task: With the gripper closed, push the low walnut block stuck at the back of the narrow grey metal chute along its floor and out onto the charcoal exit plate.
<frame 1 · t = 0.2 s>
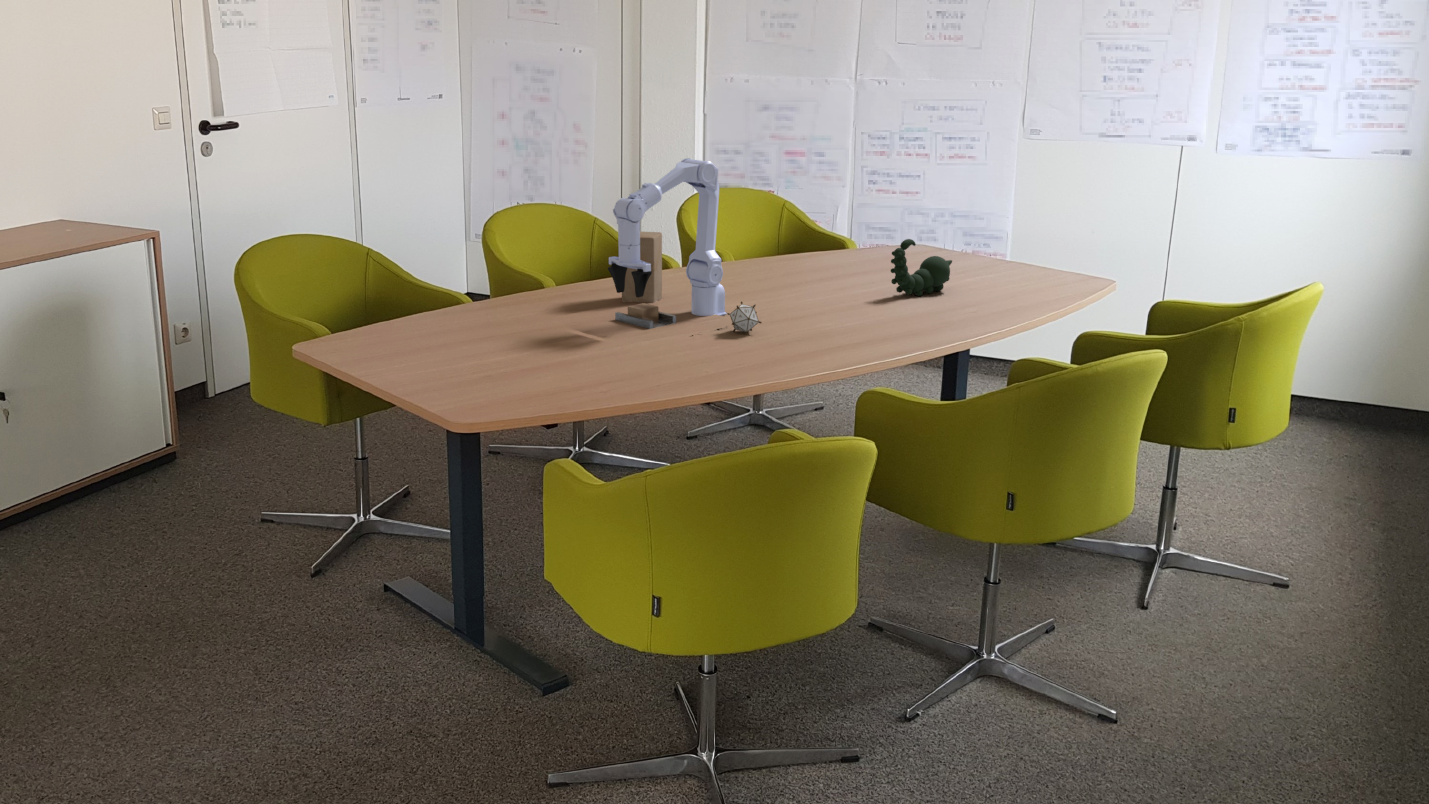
hand: (629, 294, 322), 10 cm above the table, fingers open, 7 cm apart
chute: (655, 326, 329), on the table
walnut block: (643, 320, 332), point 1 cm above the table, touching chute
game die: (744, 333, 324), on the table
wooden block: (642, 301, 359), on the table
toy figurine: (921, 294, 373), on the table
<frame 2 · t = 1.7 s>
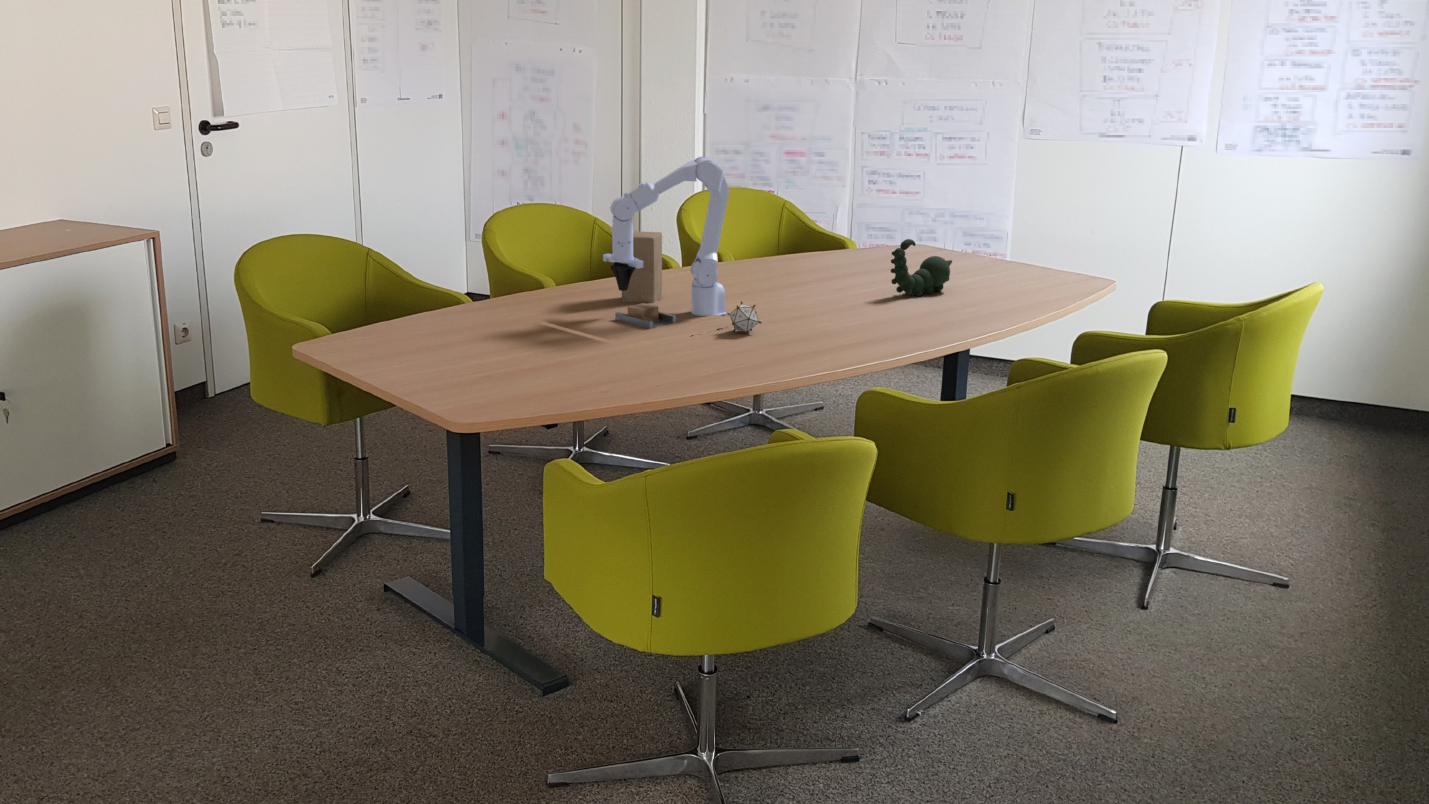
hand: (623, 290, 335), 8 cm above the table, fingers closed
nothing on the table moved.
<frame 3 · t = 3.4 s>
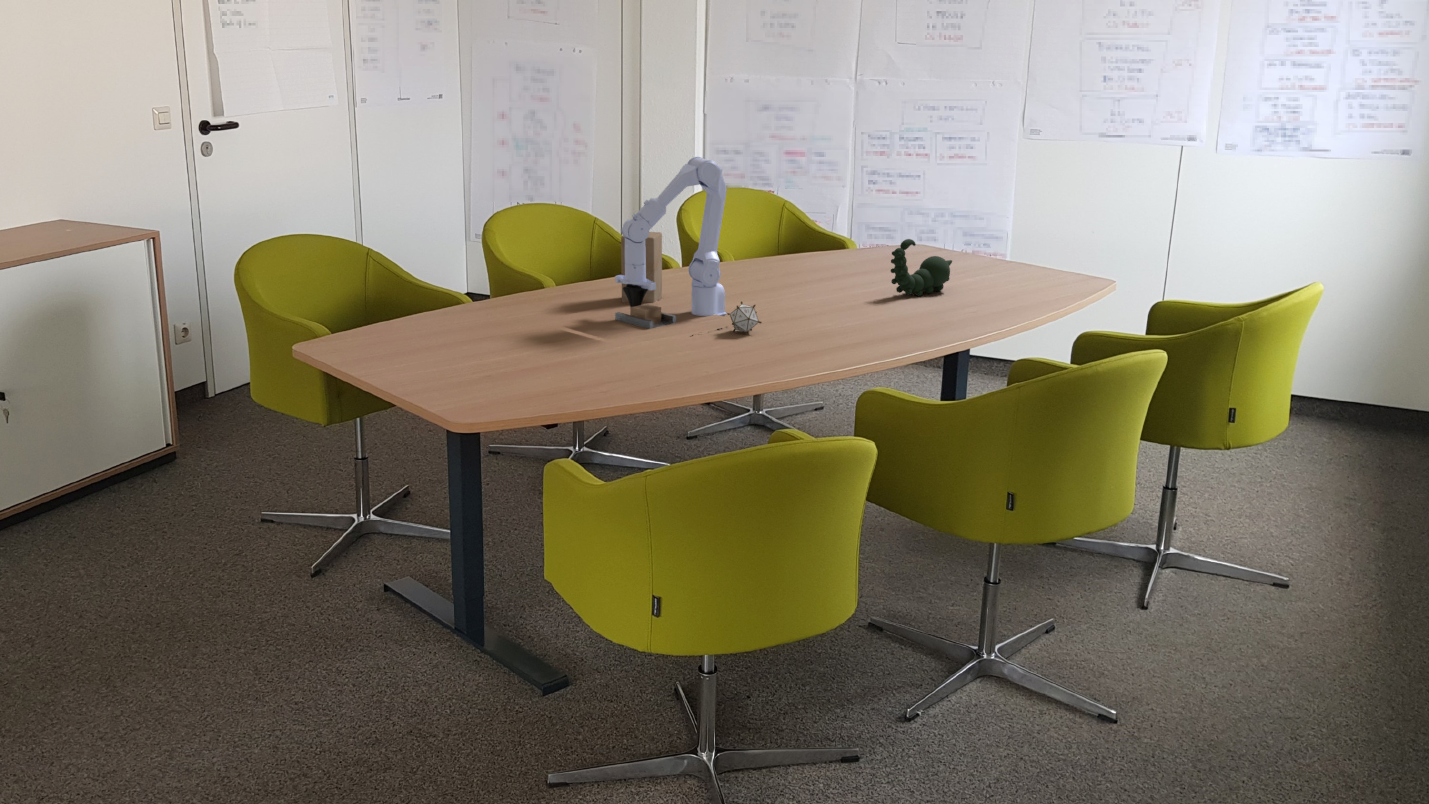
hand: (635, 311, 334), 3 cm above the table, fingers closed
walnut block: (645, 321, 331), point 1 cm above the table, touching gripper
everything else where it was.
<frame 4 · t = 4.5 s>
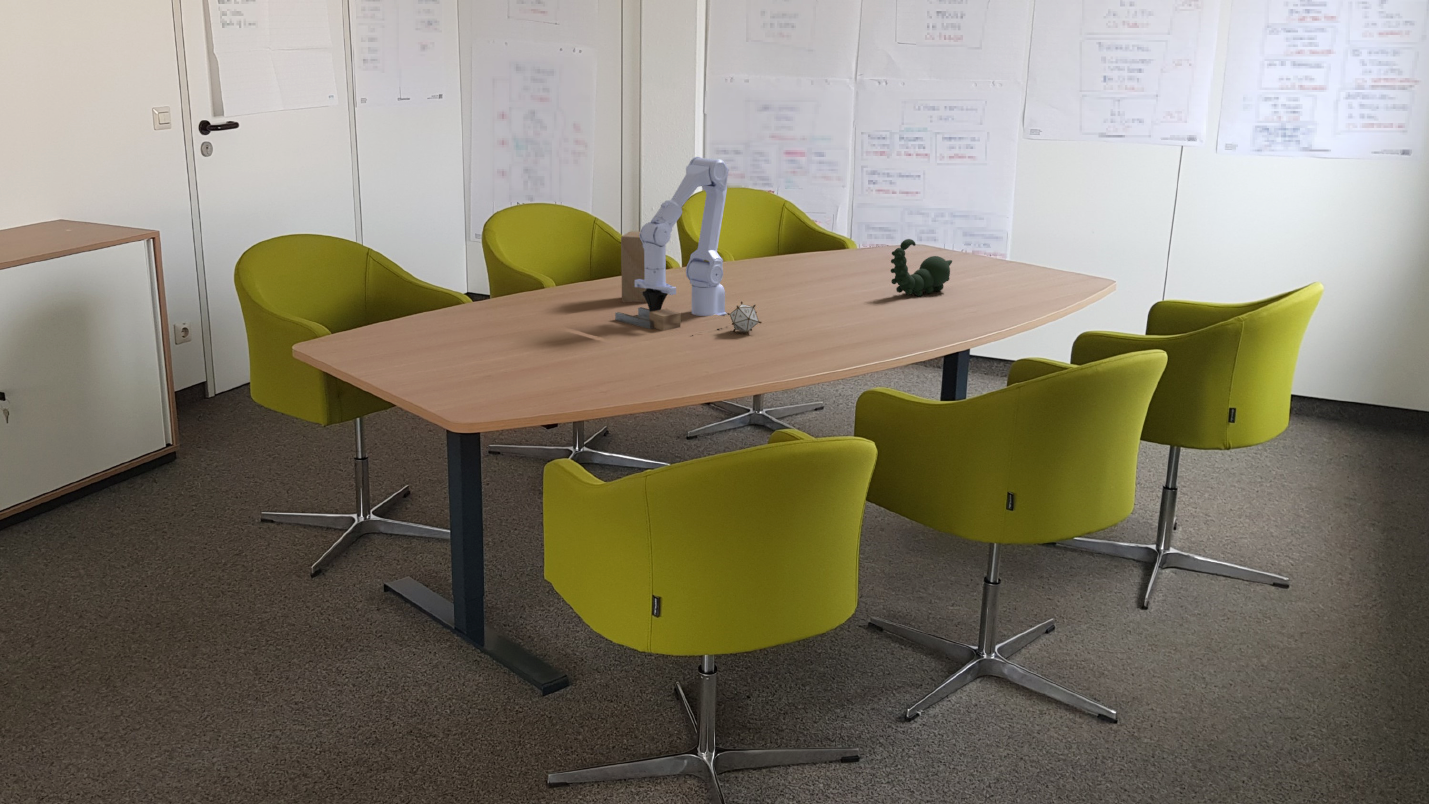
hand: (655, 316, 328), 3 cm above the table, fingers closed
walnut block: (664, 326, 326), point 1 cm above the table, touching gripper
everything else where it was.
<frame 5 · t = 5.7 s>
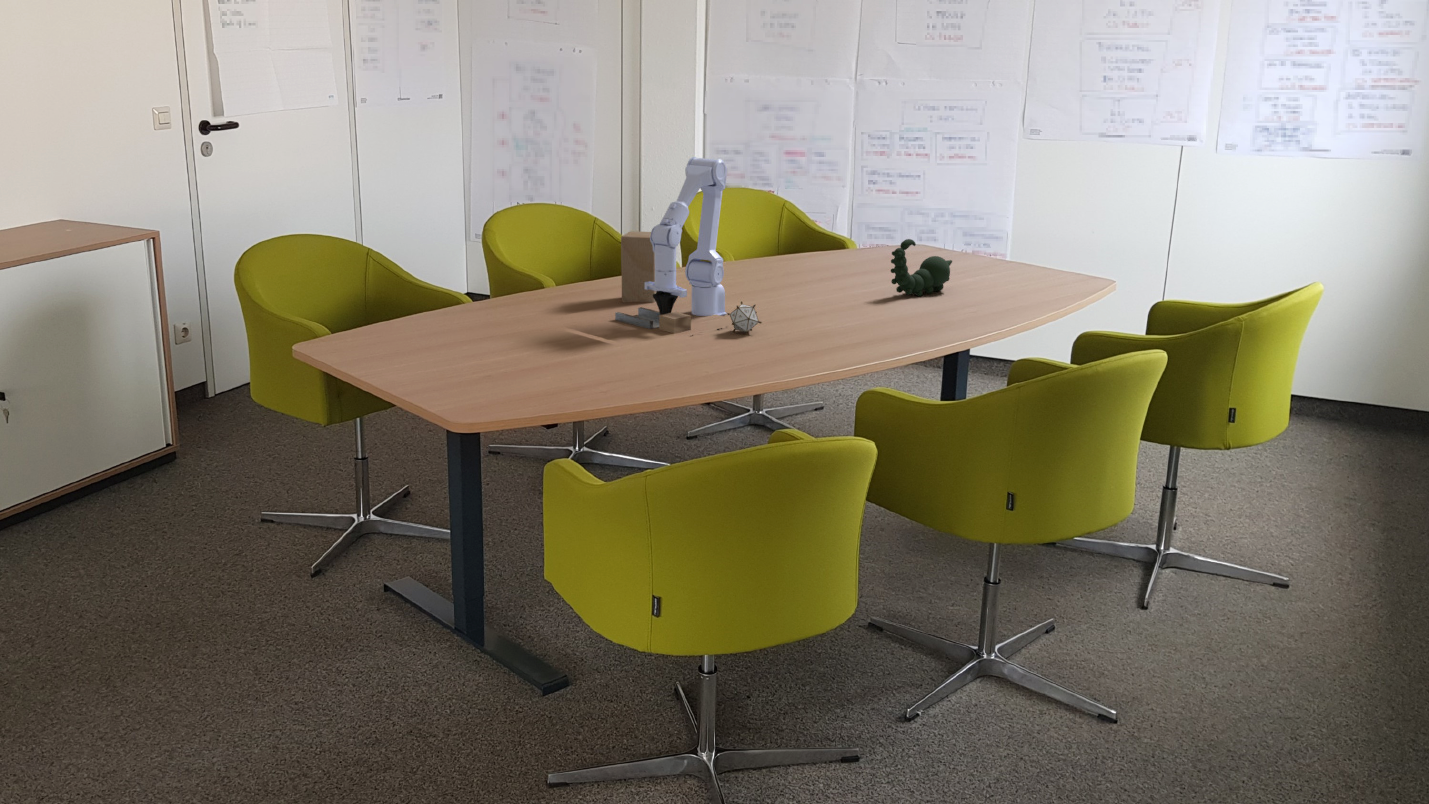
hand: (665, 319, 326), 3 cm above the table, fingers closed
walnut block: (675, 329, 323), point 1 cm above the table, touching chute, gripper
everything else where it was.
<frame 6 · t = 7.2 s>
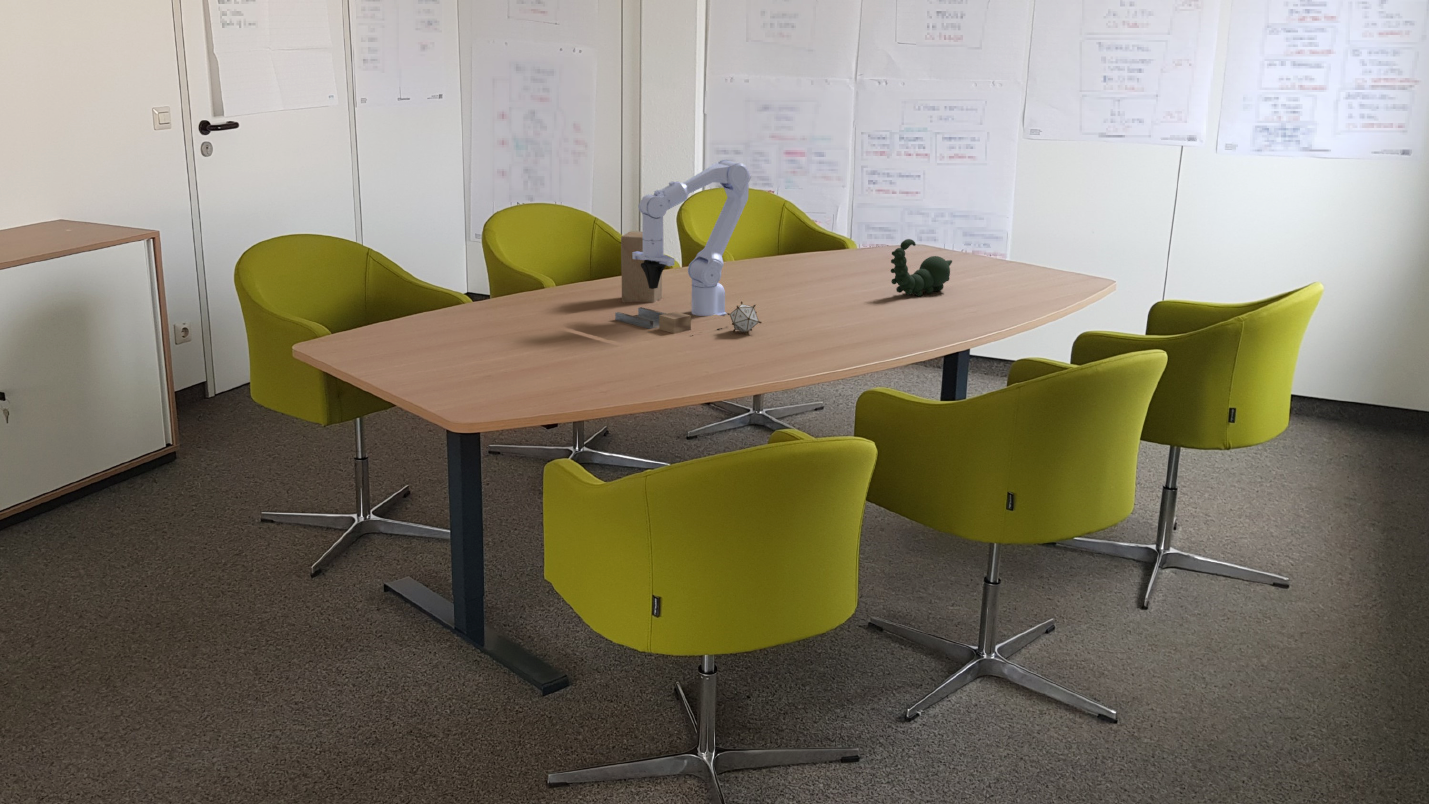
hand: (653, 288, 332), 9 cm above the table, fingers closed
walnut block: (675, 329, 323), point 1 cm above the table, touching chute
everything else where it was.
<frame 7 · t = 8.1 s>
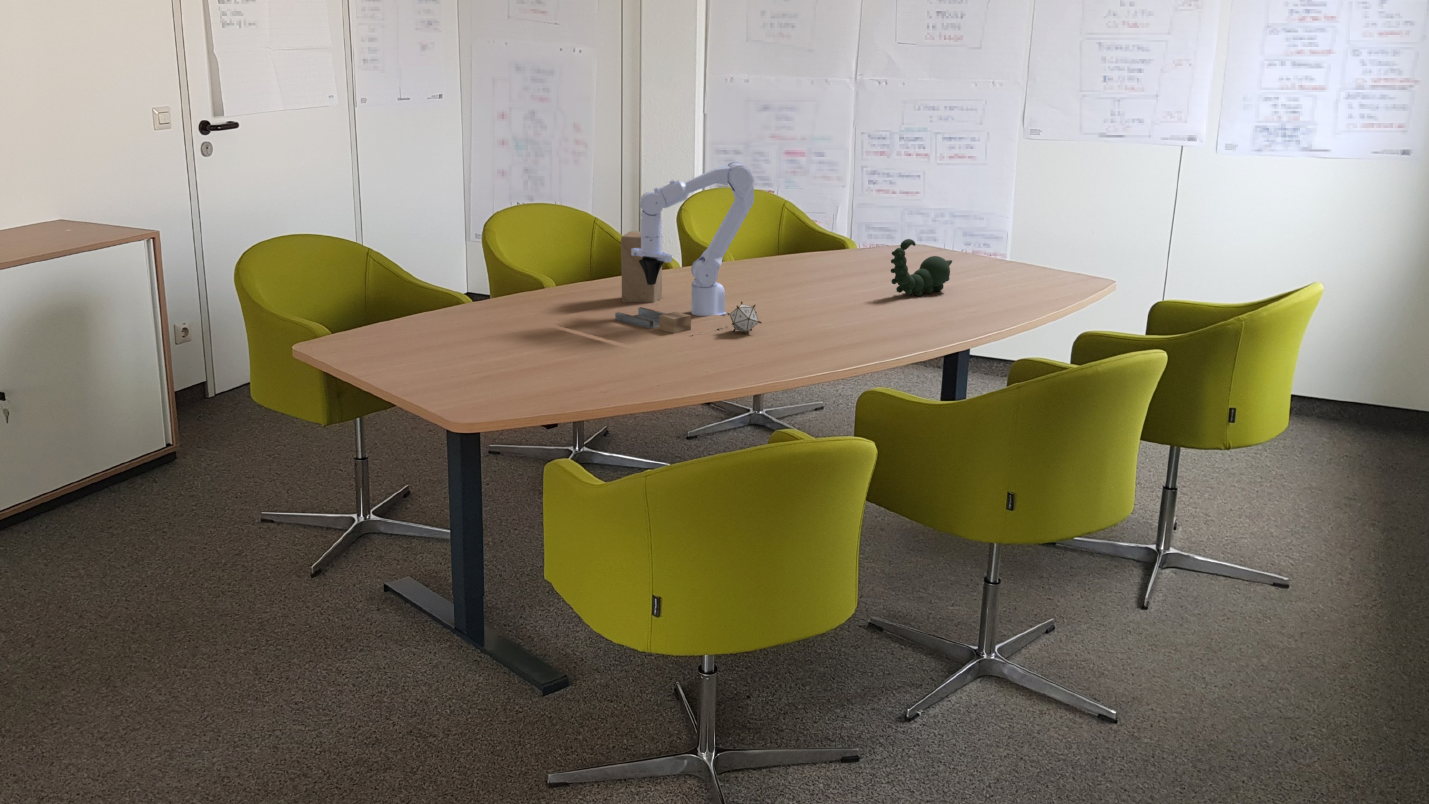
hand: (651, 284, 337), 9 cm above the table, fingers closed
nothing on the table moved.
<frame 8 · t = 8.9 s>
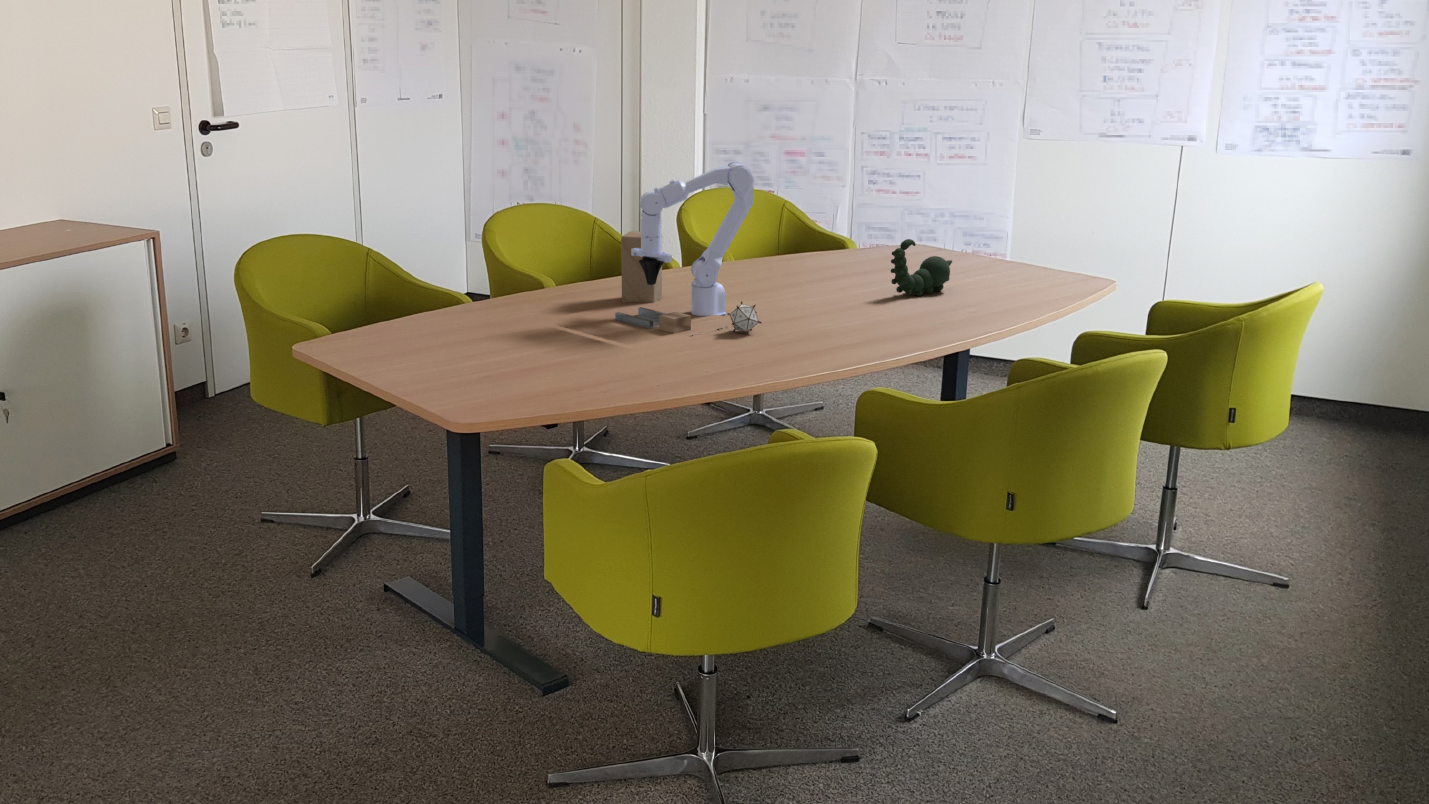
hand: (651, 284, 337), 9 cm above the table, fingers closed
nothing on the table moved.
at the end: walnut block inside the target area (0.9 cm from its centre), point 0.7 cm above the table; walnut block moved 13.2 cm from its start; walnut block tilted 0° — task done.
